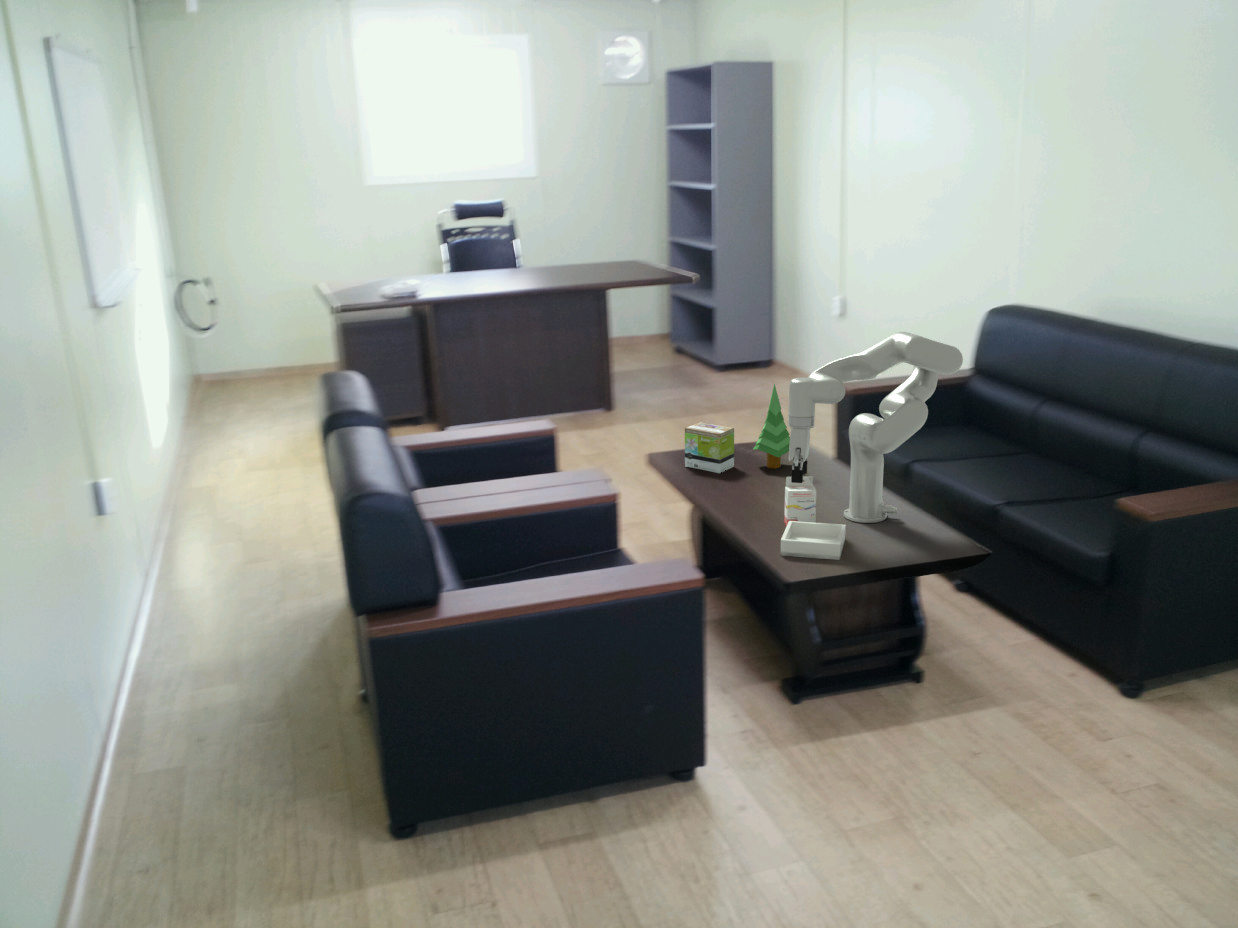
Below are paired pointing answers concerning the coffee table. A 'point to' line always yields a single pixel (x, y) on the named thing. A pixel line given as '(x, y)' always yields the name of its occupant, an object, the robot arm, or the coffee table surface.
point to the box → (813, 540)
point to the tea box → (709, 447)
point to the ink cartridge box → (800, 501)
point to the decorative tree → (774, 434)
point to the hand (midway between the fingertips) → (799, 477)
